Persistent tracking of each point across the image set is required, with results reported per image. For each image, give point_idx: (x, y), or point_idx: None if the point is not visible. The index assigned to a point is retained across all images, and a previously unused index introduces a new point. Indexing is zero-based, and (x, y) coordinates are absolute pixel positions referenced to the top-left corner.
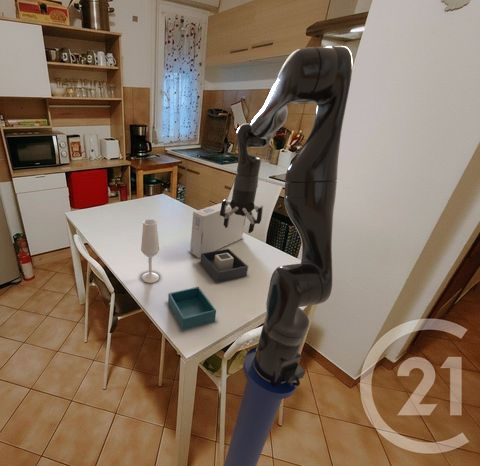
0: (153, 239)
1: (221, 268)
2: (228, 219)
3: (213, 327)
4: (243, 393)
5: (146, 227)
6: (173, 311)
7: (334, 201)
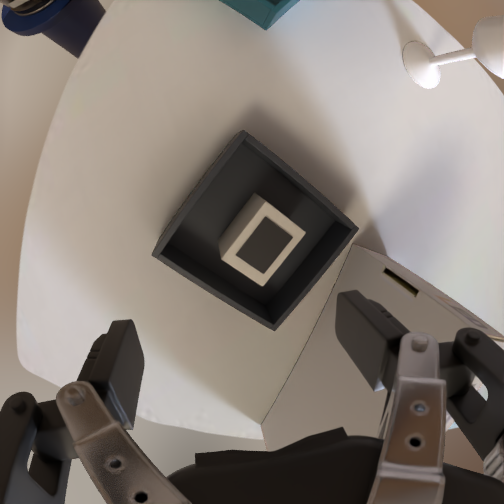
0: None
1: (251, 201)
2: (372, 358)
3: None
4: (103, 9)
5: None
6: None
7: None
